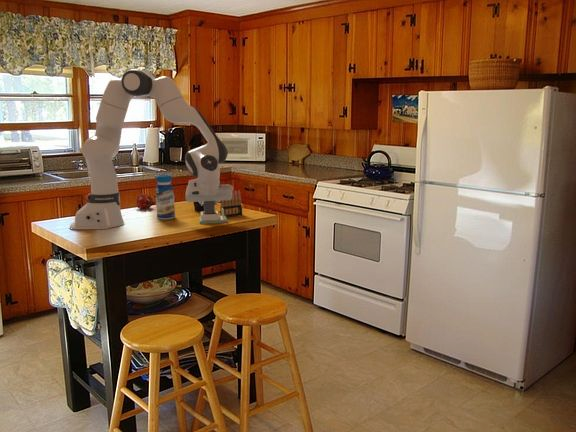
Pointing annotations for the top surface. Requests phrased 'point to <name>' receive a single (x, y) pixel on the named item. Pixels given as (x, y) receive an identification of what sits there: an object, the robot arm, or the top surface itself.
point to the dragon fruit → (144, 201)
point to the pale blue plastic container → (212, 218)
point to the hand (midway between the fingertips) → (208, 204)
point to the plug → (209, 207)
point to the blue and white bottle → (164, 197)
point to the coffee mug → (198, 206)
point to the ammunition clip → (232, 206)
